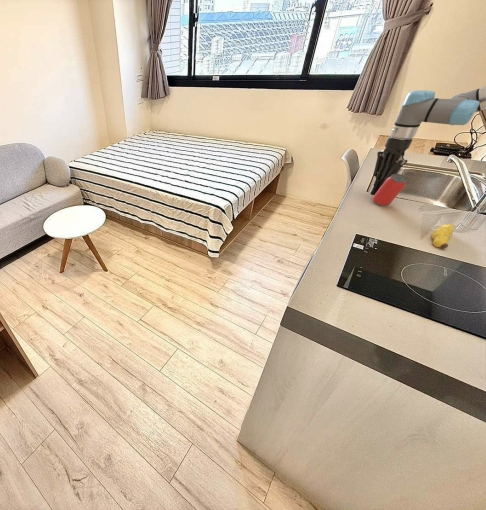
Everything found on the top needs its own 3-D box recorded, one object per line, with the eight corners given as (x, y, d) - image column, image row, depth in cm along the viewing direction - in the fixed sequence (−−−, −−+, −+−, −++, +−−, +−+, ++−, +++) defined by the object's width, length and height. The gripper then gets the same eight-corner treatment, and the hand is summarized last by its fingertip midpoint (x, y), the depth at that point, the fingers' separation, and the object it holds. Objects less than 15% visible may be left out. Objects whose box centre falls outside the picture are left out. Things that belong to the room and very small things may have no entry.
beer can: (374, 205, 116) (392, 182, 106) (370, 195, 120) (387, 172, 110) (391, 207, 115) (412, 183, 105) (387, 196, 118) (406, 173, 109)
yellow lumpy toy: (435, 226, 100) (444, 219, 97) (450, 234, 98) (459, 226, 95) (425, 243, 92) (434, 236, 90) (441, 252, 90) (451, 244, 87)
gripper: (379, 134, 111) (356, 189, 125) (404, 142, 101) (376, 201, 115) (397, 132, 111) (372, 187, 125) (424, 141, 101) (394, 200, 115)
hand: (374, 194), depth 120 cm, fingers closed
